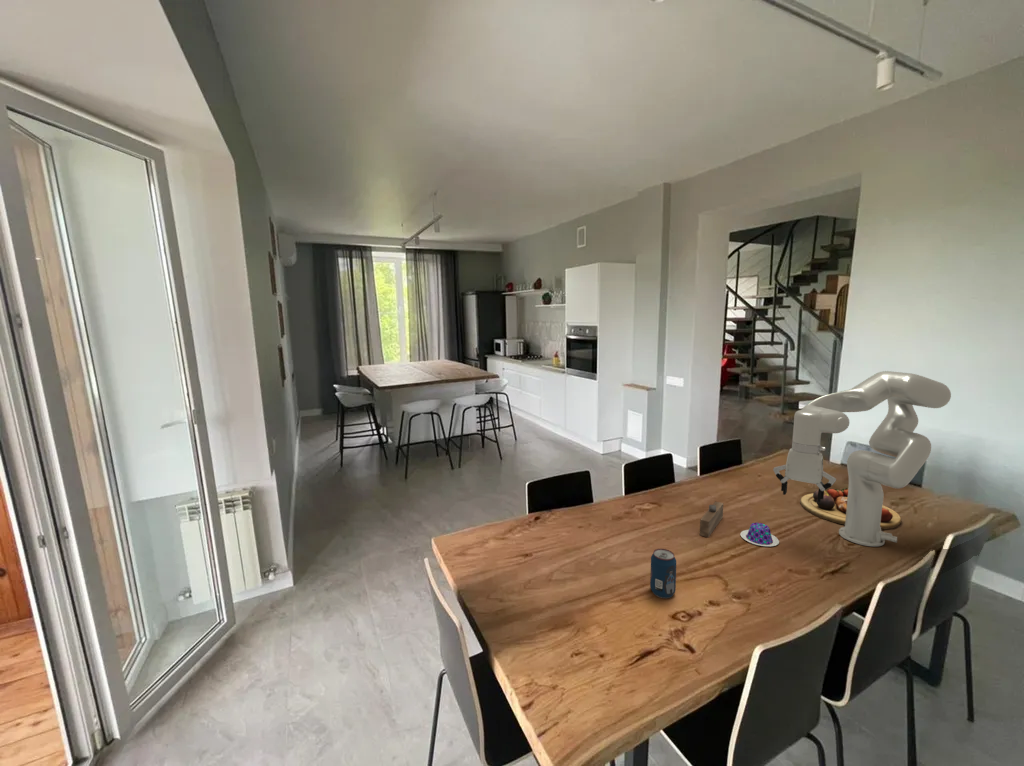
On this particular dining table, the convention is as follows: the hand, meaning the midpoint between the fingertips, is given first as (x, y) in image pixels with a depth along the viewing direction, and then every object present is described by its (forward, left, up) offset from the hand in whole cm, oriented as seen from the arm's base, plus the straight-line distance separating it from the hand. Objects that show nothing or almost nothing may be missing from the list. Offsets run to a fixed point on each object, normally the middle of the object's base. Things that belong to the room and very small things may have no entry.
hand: (801, 497), depth 143 cm
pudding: (+11, 0, -19) cm, 22 cm away
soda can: (+27, +51, -19) cm, 61 cm away
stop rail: (+27, 0, -18) cm, 33 cm away
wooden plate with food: (-12, -45, -19) cm, 51 cm away
